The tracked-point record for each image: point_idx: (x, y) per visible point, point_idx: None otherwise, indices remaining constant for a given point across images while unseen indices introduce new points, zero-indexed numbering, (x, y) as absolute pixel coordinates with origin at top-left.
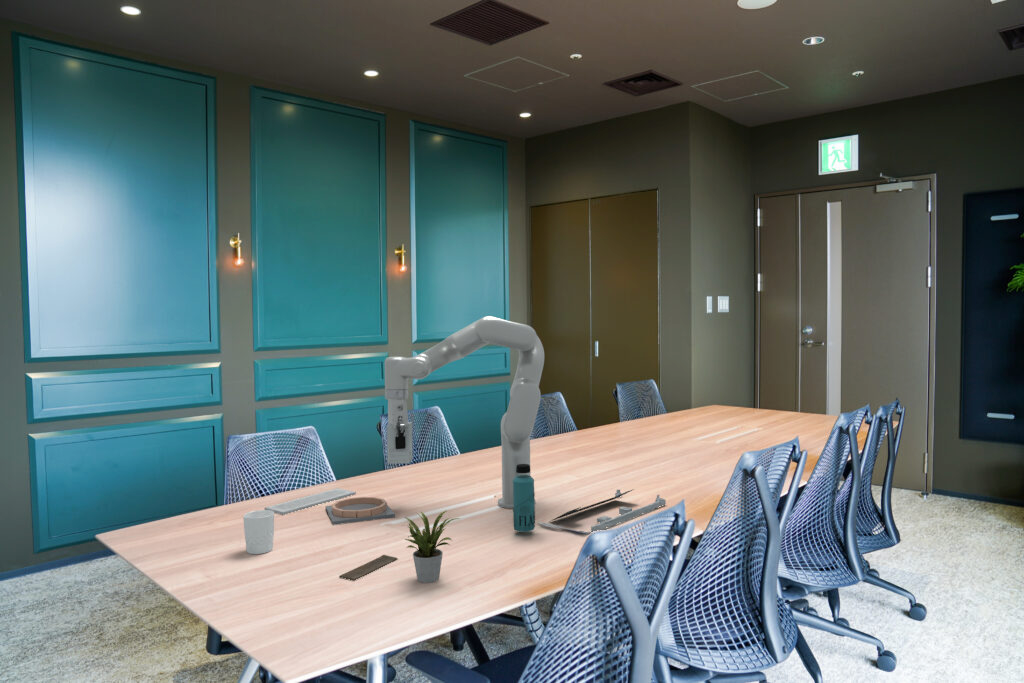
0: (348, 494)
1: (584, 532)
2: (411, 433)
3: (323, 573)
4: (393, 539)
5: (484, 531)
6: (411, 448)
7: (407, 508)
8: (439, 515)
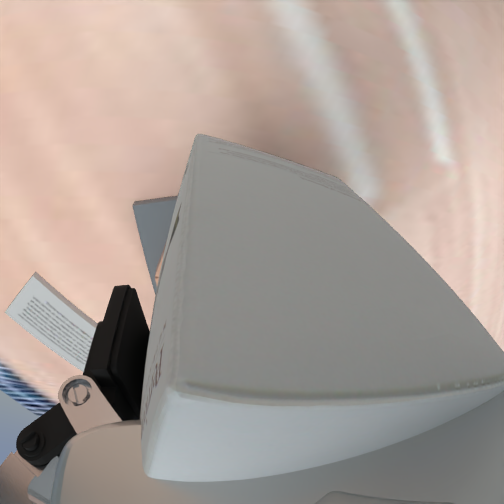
0: (53, 292)
1: None
2: (301, 244)
3: (494, 305)
4: (463, 213)
5: (499, 34)
6: (279, 175)
7: (238, 129)
8: None
